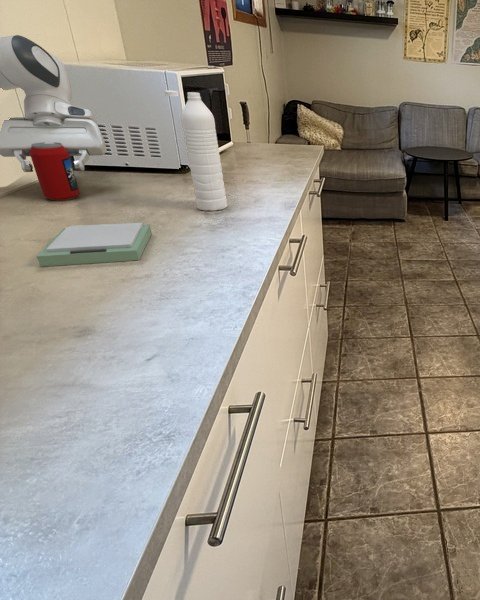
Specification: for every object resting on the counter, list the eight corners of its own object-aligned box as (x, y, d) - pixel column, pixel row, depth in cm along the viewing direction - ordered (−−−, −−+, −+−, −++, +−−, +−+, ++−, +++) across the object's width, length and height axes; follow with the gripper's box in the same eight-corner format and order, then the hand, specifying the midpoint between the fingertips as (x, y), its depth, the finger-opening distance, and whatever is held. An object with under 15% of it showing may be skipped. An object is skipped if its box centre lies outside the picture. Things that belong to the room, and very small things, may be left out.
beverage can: (86, 197, 111) (71, 144, 105) (53, 203, 106) (35, 148, 100) (72, 192, 114) (56, 140, 108) (38, 197, 108) (20, 143, 103)
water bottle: (229, 203, 114) (213, 91, 103) (224, 211, 109) (206, 94, 97) (190, 203, 113) (169, 89, 101) (183, 211, 107) (159, 91, 95)
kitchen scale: (40, 266, 77) (35, 252, 76) (66, 237, 89) (62, 225, 88) (139, 260, 82) (135, 246, 81) (151, 233, 94) (149, 221, 93)
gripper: (-16, 108, 102) (-14, 163, 99) (98, 110, 111) (103, 161, 108) (-2, 126, 108) (1, 179, 105) (105, 127, 116) (111, 176, 113)
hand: (53, 170), depth 106 cm, fingers open, 8 cm apart
